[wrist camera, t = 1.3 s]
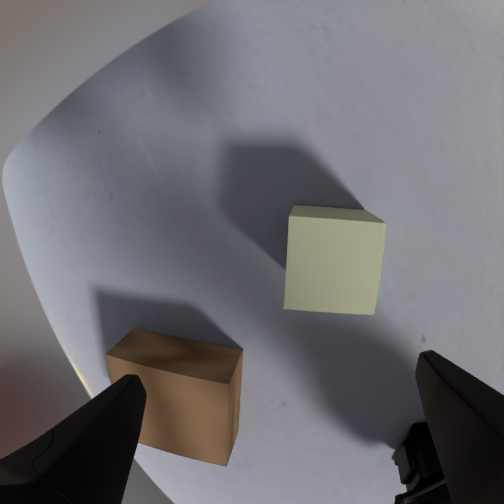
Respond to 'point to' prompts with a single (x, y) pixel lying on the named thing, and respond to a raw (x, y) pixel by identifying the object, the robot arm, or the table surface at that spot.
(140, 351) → the walnut block
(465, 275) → the table surface
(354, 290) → the sage block
